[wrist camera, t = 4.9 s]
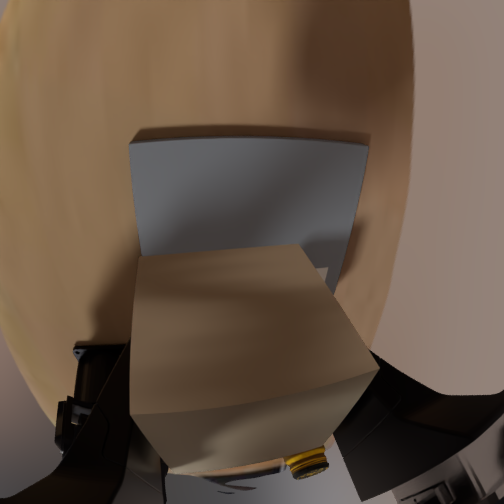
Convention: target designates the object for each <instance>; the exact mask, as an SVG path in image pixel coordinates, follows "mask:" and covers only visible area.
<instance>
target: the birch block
mask: <svg viewBox="0 0 504 504" xmlns="http://www.w3.org/2000/svg"><path fill="white" fill-rule="evenodd" d="M379 369H380V367H379V366H378V364H377V363H376V361H375V359H374V358H373V356H372V355H371V353H370V351H369V350H368V348H367V346H366V345H365V343H364V342H363V340H362V339H361V337H360V335H359V334H358V332H357V331H356V329H355V328H354V326H353V324H352V323H351V321H350V320H349V318H348V317H347V315H346V314H345V312H344V311H343V309H342V307H341V306H340V304H339V303H338V301H337V300H336V298H335V297H334V295H333V294H332V292H331V291H330V289H329V288H328V286H327V285H326V283H325V282H324V280H323V279H322V277H321V276H320V274H319V273H318V271H317V270H316V269H315V267H314V266H313V264H312V263H311V261H310V260H309V258H308V257H307V255H306V254H305V252H304V251H303V250H302V248H301V247H300V245H299V244H288V245H275V246H263V247H250V248H238V249H226V250H214V251H202V252H190V253H178V254H166V255H154V256H142V257H139V260H138V267H137V276H136V285H135V294H134V305H133V317H132V332H131V351H130V415H131V417H132V418H133V420H134V421H135V423H136V424H137V426H138V427H139V429H140V430H141V431H142V433H143V434H144V436H145V437H146V438H147V440H148V441H149V442H150V444H151V445H152V446H153V448H154V449H155V450H156V452H157V453H158V454H159V455H160V457H161V458H162V459H163V461H164V462H165V463H166V464H167V465H168V467H169V468H170V469H171V470H172V471H173V473H174V474H182V473H194V472H204V471H212V470H220V469H226V468H233V467H239V466H244V465H250V464H255V463H260V462H264V461H269V460H273V459H277V458H282V457H286V456H289V455H293V454H297V453H300V452H304V451H307V450H311V449H314V448H317V447H320V446H322V445H323V444H324V443H325V442H326V441H327V439H328V438H329V437H330V436H331V435H332V433H333V432H334V431H335V430H336V429H337V427H338V426H339V425H340V424H341V422H342V421H343V420H344V418H345V417H346V416H347V414H348V413H349V412H350V410H351V409H352V408H353V406H354V405H355V404H356V402H357V401H358V400H359V398H360V397H361V395H362V394H363V393H364V391H365V390H366V388H367V387H368V385H369V384H370V382H371V381H372V379H373V378H374V376H375V375H376V373H377V372H378V370H379Z"/></svg>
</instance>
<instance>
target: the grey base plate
mask: <svg viewBox="0 0 504 504" xmlns="http://www.w3.org/2000/svg"><path fill="white" fill-rule="evenodd" d="M368 150H369V146H367V145H365V144H361V143H353V142H344V141H334V140H323V139H310V138H295V137H272V136H203V137H181V138H165V139H152V140H142V141H132V142H130V143H129V154H130V167H131V178H132V188H133V197H134V205H135V213H136V221H137V228H138V235H139V241H140V247H141V254H142V256H154V255H166V254H178V253H190V252H202V251H214V250H226V249H238V248H250V247H263V246H275V245H288V244H299V245H300V247H301V248H302V250H303V251H304V252H305V254H306V255H307V257H308V258H309V260H310V261H311V263H312V264H313V266H314V267H315V269H316V270H317V271H318V273H319V274H320V276H321V277H322V279H323V280H324V282H325V283H326V285H327V286H328V288H329V289H330V291H331V292H332V294H333V295H334V292H335V289H336V285H337V282H338V278H339V275H340V271H341V268H342V264H343V261H344V257H345V253H346V250H347V246H348V242H349V238H350V234H351V230H352V226H353V222H354V218H355V213H356V209H357V205H358V200H359V196H360V191H361V186H362V182H363V177H364V172H365V167H366V161H367V156H368Z"/></svg>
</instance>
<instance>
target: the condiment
mask: <svg viewBox="0 0 504 504" xmlns="http://www.w3.org/2000/svg"><path fill="white" fill-rule="evenodd" d="M324 452H325V447H324V445H322V446H320V447H317V448H314V449H311V450H307V451H304V452H300V453H297V454H293V455H289V456H286V457H283V458H284V461H285V463H286V464H287V465H288V466H290V471H291V472H292V475H293V478H294V479H297V480H298V479H304V478H308V477H310V476H313V475H316V474H318V473H321V472H322V471H325V470H326V469H327V468H328V467H329V463H327V459H326V456H325V455H324Z"/></svg>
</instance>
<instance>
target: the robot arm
mask: <svg viewBox="0 0 504 504" xmlns="http://www.w3.org/2000/svg"><path fill="white" fill-rule="evenodd" d="M368 350H369V349H368ZM130 351H131V337H130V339H129V341H128V342H127V344H126V345H108V346H75V347H74V348H73V353H74V355H75V357H76V359H77V360H78V368H77V375H76V382H75V390H74V398H73V397H71V396H68V395H67V400H66V401H60V402H58V411H57V420H56V431H55V444H56V445H57V447H58V448H59V449H60V453H61V454H62V461H61V462H60V464H59V465H58V467H57V468H56V469H55V470H54V471H53V472H52V473H51V474H50V475H48V476H46V477H45V478H43V479H41V480H40V481H38V482H36V483H35V484H33V485H31V486H29V487H28V488H26V489H24V490H22V491H20V492H19V493H17V494H15V495H13V496H11V497H8V498H0V504H166V501H167V499H166V492H165V477H166V475H167V472H168V468H169V467H168V465H167V464H166V463H165V462H164V461H163V459H162V458H161V457H160V455H159V454H158V453H157V452H156V450H155V449H154V448H153V446H152V445H151V444H150V442H149V441H148V440H147V438H146V437H145V436H144V434H143V433H142V431H141V430H140V429H139V427H138V426H137V424H136V423H135V421H134V420H133V418H132V417H131V415H130ZM369 351H370V350H369ZM370 353H371V355H372V356H373V358H374V359H375V361H376V363H377V364H378V366H379V367H380V369H379V370H378V372H377V373H376V375H375V376H374V378H373V379H372V381H371V382H370V384H369V385H368V387H367V388H366V390H365V391H364V393H363V394H362V395H361V397H360V398H359V400H358V401H357V402H356V404H355V405H354V406H353V408H352V409H351V410H350V412H349V413H348V414H347V416H346V417H345V418H344V420H343V421H342V422H341V424H340V425H339V426H338V427H337V429H336V430H335V431H334V432H333V435H334V438H335V440H336V442H337V445H338V447H339V450H340V452H341V454H342V457H344V458H343V459H344V462H345V464H346V467H347V469H348V471H349V474H350V476H351V478H352V481H353V483H354V485H355V488H356V490H357V493H358V495H359V497H360V500H361V501H362V502H363V501H365V500H368V499H370V498H373V497H375V496H377V495H380V494H382V493H385V492H387V491H389V490H392V492H393V494H394V496H395V499H396V501H397V503H398V504H504V390H503V391H501V392H500V393H497V394H492V395H463V396H462V395H461V396H460V395H445V394H441V393H438V392H436V391H434V390H432V389H430V388H428V387H426V386H425V385H423V384H421V383H420V382H418V381H416V380H414V379H412V378H410V377H409V376H407V375H406V374H404V373H402V372H401V371H399V370H397V369H396V368H395V367H393V366H392V365H390V364H389V363H387V362H386V361H385V360H383V359H382V358H380V357H379V356H377V355H376V354H375V353H373V352H372V351H370ZM71 422H73V423H76V424H77V425H76V424H72V423H71Z"/></svg>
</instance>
